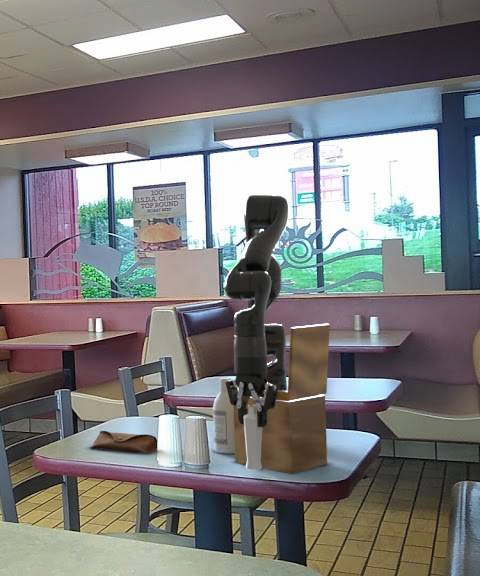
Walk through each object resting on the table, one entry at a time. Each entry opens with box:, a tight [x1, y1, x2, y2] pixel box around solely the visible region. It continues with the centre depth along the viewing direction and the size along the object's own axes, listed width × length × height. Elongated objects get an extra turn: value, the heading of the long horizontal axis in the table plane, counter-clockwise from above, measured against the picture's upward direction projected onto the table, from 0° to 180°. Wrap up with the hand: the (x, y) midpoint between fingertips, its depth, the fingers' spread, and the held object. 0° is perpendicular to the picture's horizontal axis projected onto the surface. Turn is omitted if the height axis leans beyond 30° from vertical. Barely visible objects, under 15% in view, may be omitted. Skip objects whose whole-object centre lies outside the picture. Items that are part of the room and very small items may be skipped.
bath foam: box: [212, 377, 235, 455], centre depth 224 cm, size 7×7×20 cm
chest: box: [234, 390, 328, 474], centre depth 209 cm, size 17×15×17 cm
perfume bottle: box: [243, 405, 263, 471], centre depth 197 cm, size 5×4×15 cm
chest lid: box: [287, 323, 331, 400], centre depth 201 cm, size 18×15×1 cm
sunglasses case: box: [89, 430, 158, 453], centre depth 233 cm, size 18×7×7 cm
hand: (252, 424), depth 197 cm, fingers closed on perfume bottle, 4 cm apart
